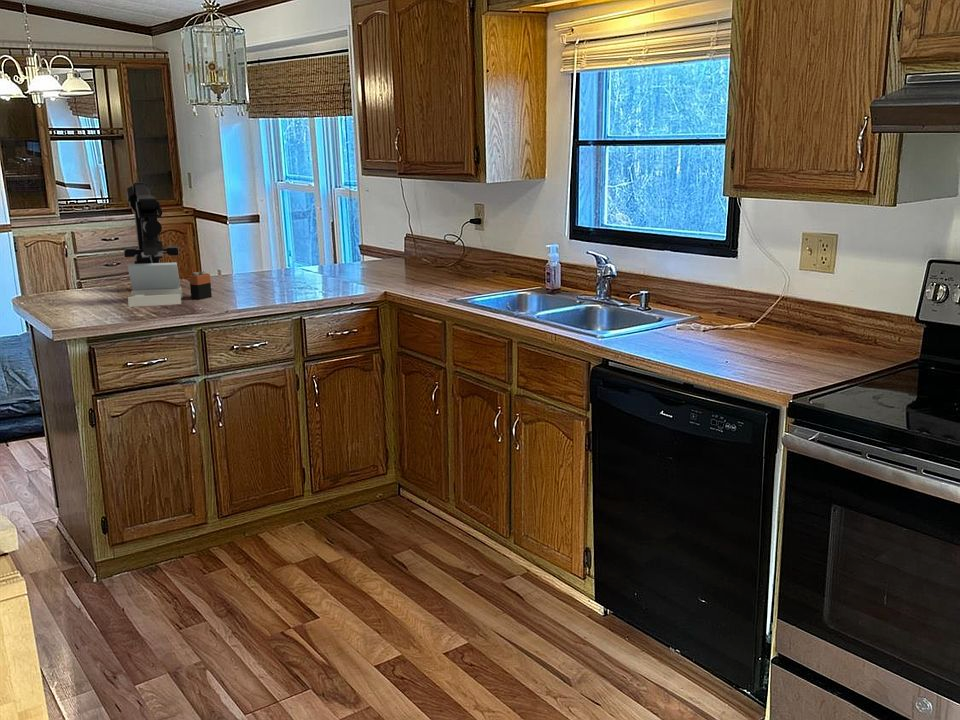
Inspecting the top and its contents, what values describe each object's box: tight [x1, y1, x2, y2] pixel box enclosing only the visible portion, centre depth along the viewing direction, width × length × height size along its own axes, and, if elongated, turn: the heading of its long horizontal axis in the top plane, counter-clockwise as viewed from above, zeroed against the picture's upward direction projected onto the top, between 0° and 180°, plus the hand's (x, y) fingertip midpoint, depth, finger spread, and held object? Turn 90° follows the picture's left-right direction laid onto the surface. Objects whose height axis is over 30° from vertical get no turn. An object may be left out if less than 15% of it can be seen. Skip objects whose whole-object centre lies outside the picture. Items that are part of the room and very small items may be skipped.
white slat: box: [127, 287, 183, 308], centre depth 320 cm, size 14×18×4 cm
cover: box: [126, 262, 181, 291], centre depth 321 cm, size 14×17×1 cm
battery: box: [188, 271, 212, 300], centre depth 327 cm, size 4×7×10 cm, turn 151°
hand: (154, 274), depth 321 cm, fingers closed, pressing on cover
